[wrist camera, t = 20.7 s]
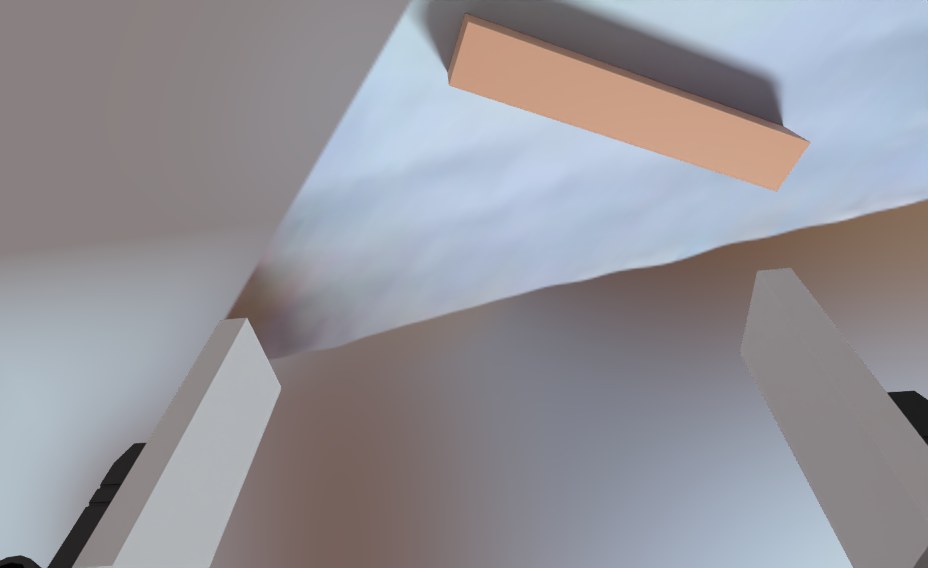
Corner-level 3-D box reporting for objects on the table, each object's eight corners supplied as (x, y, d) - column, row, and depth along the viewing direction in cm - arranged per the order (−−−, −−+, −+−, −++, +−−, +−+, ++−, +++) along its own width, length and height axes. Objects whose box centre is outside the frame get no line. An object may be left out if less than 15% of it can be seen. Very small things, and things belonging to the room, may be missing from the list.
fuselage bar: (447, 71, 39) (449, 85, 36) (464, 12, 37) (468, 21, 34) (751, 170, 45) (776, 191, 42) (781, 124, 43) (810, 142, 40)
